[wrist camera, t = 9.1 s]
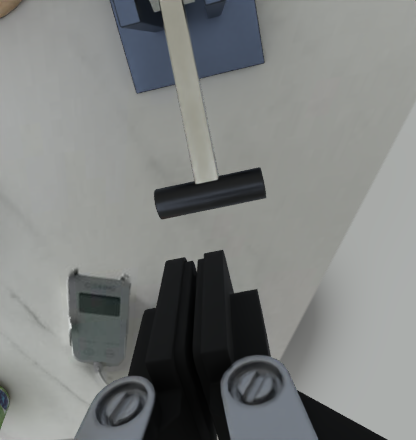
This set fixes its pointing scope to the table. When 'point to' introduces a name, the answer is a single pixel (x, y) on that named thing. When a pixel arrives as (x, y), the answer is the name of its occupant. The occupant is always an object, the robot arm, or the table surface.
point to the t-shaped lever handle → (197, 131)
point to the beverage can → (3, 404)
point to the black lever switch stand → (200, 34)
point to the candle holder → (7, 6)
